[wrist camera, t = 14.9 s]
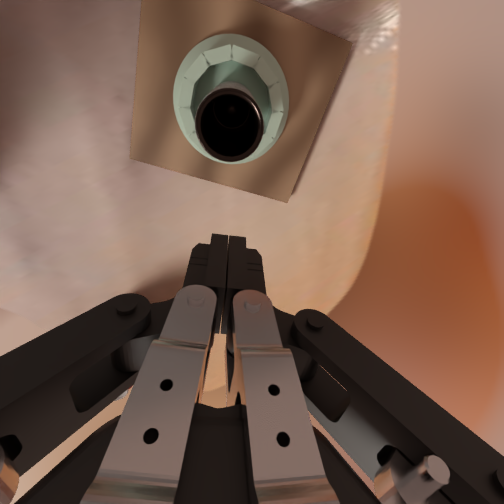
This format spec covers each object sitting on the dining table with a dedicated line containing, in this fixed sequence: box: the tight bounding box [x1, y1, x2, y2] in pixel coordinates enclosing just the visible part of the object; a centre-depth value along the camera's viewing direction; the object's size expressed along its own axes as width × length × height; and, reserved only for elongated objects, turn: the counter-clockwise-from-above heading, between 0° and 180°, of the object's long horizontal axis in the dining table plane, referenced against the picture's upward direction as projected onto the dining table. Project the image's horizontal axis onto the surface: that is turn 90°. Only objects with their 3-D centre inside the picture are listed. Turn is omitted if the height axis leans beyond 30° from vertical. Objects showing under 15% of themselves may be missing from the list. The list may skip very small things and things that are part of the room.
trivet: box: [130, 0, 353, 203], centre depth 28 cm, size 18×16×1 cm
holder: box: [173, 34, 289, 164], centre depth 26 cm, size 11×11×3 cm
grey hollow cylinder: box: [195, 81, 264, 162], centre depth 22 cm, size 4×4×10 cm
